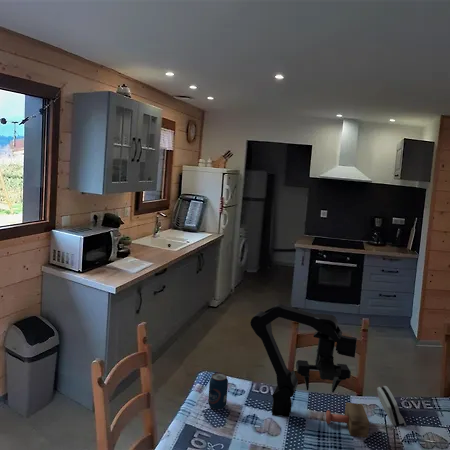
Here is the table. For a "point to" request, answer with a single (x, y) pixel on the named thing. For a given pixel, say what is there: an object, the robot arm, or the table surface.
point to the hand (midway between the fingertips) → (319, 391)
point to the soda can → (218, 391)
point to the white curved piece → (390, 405)
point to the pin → (336, 418)
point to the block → (357, 420)
